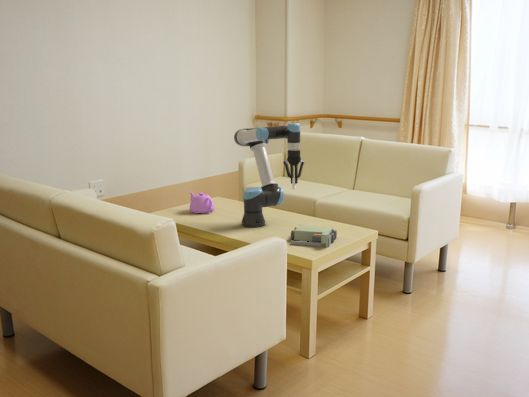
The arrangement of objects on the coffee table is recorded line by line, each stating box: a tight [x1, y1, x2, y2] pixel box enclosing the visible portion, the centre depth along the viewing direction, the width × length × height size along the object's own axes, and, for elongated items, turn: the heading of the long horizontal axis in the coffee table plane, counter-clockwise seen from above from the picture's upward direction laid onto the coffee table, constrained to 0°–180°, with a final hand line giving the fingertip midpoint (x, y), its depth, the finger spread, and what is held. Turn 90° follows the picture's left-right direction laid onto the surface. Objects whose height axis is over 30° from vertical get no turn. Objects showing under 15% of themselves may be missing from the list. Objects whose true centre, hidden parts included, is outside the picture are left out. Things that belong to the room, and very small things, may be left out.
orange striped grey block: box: [312, 234, 321, 243], centre depth 311 cm, size 8×5×5 cm, turn 72°
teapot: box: [189, 190, 216, 214], centre depth 396 cm, size 25×18×14 cm
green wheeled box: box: [290, 225, 338, 248], centre depth 318 cm, size 24×20×7 cm
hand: (294, 188), depth 333 cm, fingers closed
